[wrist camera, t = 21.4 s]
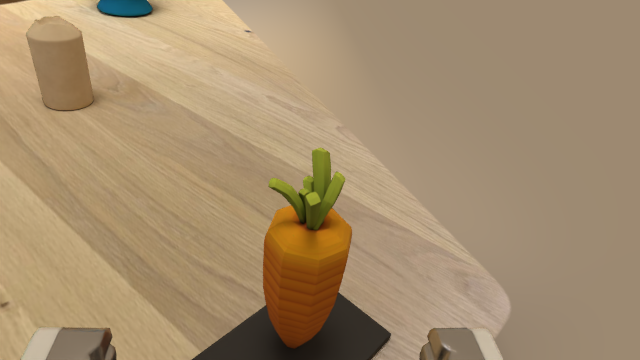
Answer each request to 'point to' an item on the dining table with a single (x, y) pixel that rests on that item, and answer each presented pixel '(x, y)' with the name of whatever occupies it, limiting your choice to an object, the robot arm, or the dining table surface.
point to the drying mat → (314, 355)
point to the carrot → (305, 254)
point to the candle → (60, 63)
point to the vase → (125, 7)
